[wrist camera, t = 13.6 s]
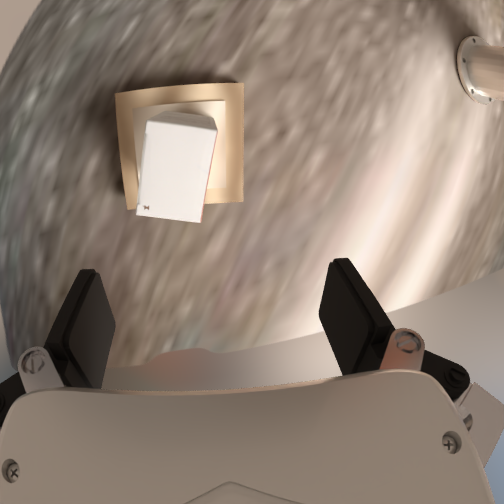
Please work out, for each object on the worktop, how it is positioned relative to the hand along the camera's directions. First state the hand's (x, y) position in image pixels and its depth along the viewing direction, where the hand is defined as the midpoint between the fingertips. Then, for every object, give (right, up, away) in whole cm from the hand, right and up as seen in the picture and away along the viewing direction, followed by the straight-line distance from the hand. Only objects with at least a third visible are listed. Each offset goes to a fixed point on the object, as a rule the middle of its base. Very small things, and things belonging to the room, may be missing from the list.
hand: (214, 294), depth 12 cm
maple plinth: (-7, +15, +22) cm, 28 cm away
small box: (-6, +13, +19) cm, 24 cm away
